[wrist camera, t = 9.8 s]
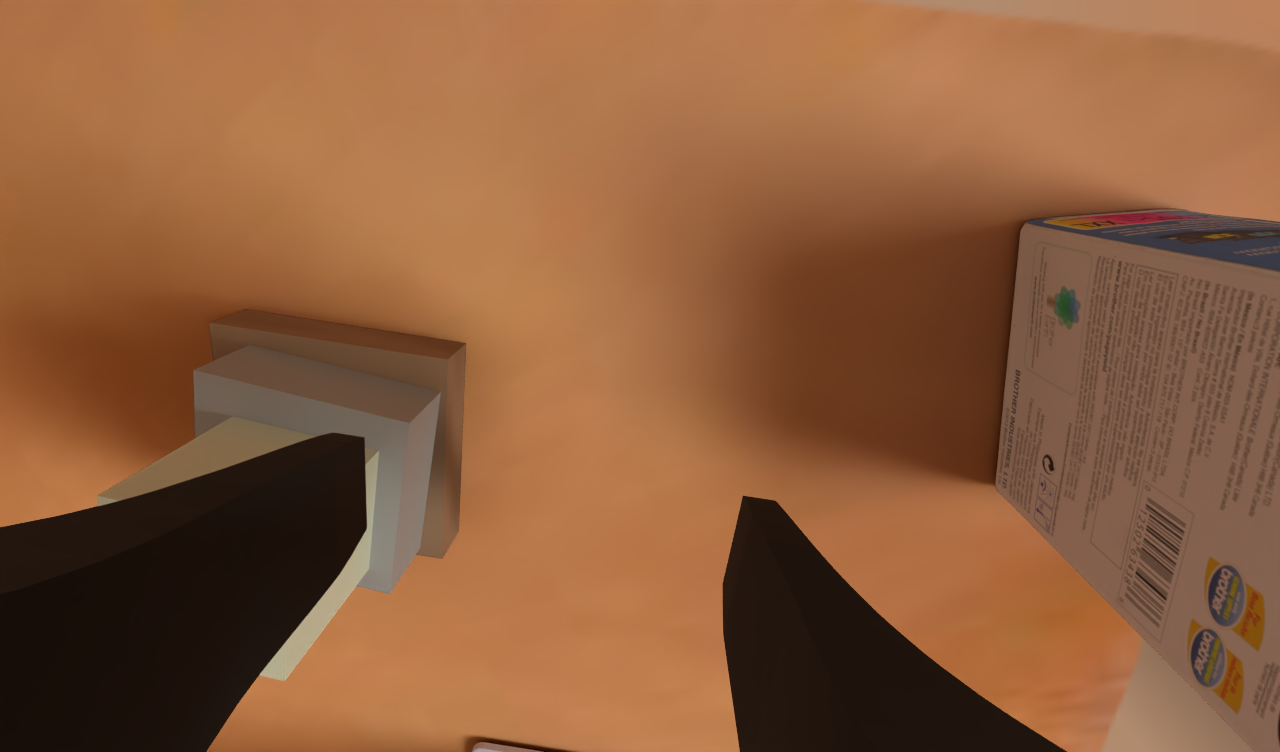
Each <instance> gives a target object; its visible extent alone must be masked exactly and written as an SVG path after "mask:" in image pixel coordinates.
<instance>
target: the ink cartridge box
mask: <svg viewBox="0 0 1280 752" xmlns="http://www.w3.org/2000/svg"><path fill="white" fill-rule="evenodd" d="M995 487H996V489H997V491H998V492H999V493H1000V494H1001V495H1002V496H1003V497H1004V498H1005V499H1006V500H1007V501H1008V502H1009V503H1010V504H1011V505H1012V506H1013V507H1014V508H1015V509H1016V510H1017V511H1018V512H1019V513H1020V514H1021V515H1022V516H1023V517H1024V518H1025V519H1026V520H1027V521H1028V522H1029V523H1030V524H1031V525H1032V526H1033V527H1034V528H1035V529H1036V530H1037V531H1038V532H1039V533H1040V534H1041V535H1042V536H1043V538H1044V539H1045V540H1046V541H1048V542H1049V543H1050V544H1051V545H1052V546H1053V547H1054V548H1055V549H1056V550H1057V551H1058V552H1059V553H1060V554H1061V555H1062V557H1063V558H1064V559H1065V560H1066V561H1067V562H1068V563H1069V564H1070V565H1071V566H1072V567H1073V568H1074V569H1075V570H1076V571H1077V572H1078V573H1079V574H1080V575H1081V576H1082V577H1083V578H1084V579H1085V580H1086V581H1087V582H1088V583H1089V584H1090V585H1091V586H1092V587H1093V588H1094V589H1095V590H1096V591H1097V592H1098V593H1099V594H1100V595H1101V596H1102V597H1103V598H1104V599H1105V600H1106V601H1107V602H1108V603H1109V604H1110V605H1111V606H1112V607H1113V608H1114V609H1115V610H1116V611H1117V612H1118V613H1119V614H1120V615H1121V616H1122V617H1123V618H1124V619H1125V620H1126V621H1127V622H1128V623H1129V624H1130V625H1131V626H1132V627H1133V628H1134V629H1135V631H1136V632H1137V633H1138V634H1139V635H1140V636H1141V637H1142V638H1143V639H1144V640H1145V641H1146V642H1147V643H1148V644H1149V645H1150V646H1151V647H1152V648H1153V649H1154V650H1155V651H1156V652H1157V653H1159V655H1160V656H1161V657H1162V658H1163V659H1164V660H1165V661H1166V662H1167V663H1168V664H1169V665H1170V666H1171V667H1172V668H1173V669H1174V670H1175V671H1176V672H1177V673H1178V674H1179V675H1180V676H1181V677H1182V678H1183V679H1184V680H1185V681H1186V682H1187V683H1188V684H1189V685H1190V686H1191V687H1192V688H1193V689H1194V690H1195V691H1196V692H1197V693H1198V694H1199V695H1200V696H1201V697H1202V698H1203V699H1204V700H1205V701H1206V702H1207V703H1208V704H1209V705H1210V706H1211V707H1212V708H1213V709H1214V710H1215V711H1216V713H1218V714H1219V716H1220V717H1221V718H1222V719H1223V720H1224V721H1225V722H1226V723H1227V724H1228V725H1229V726H1230V727H1231V728H1232V729H1233V730H1234V731H1235V732H1236V733H1237V734H1238V735H1239V736H1240V737H1241V738H1242V739H1243V740H1244V741H1245V742H1246V743H1247V744H1248V745H1249V746H1250V747H1251V748H1252V749H1253V750H1254V751H1255V752H1280V222H1275V221H1267V220H1259V219H1250V218H1240V217H1230V216H1221V215H1212V214H1205V213H1198V212H1192V211H1187V210H1181V209H1155V210H1143V211H1130V212H1116V213H1103V214H1090V215H1077V216H1065V217H1054V218H1044V219H1035V220H1030V221H1027V222H1026V223H1025V224H1024V226H1023V227H1022V229H1021V232H1020V240H1019V252H1018V261H1017V271H1016V281H1015V292H1014V302H1013V312H1012V321H1011V331H1010V341H1009V351H1008V361H1007V371H1006V381H1005V390H1004V401H1003V412H1002V421H1001V431H1000V442H999V453H998V463H997V472H996V481H995Z"/></svg>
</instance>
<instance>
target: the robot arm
mask: <svg viewBox="0 0 1280 752" xmlns="http://www.w3.org/2000/svg"><path fill="white" fill-rule="evenodd" d="M366 530H367V506H366V470H365V437H360V436H353V435H347V434H340V433H334V432H332V433H328V434H324V435H320V436H317V437H313V438H310V439H307V440H304V441H301V442H298V443H295V444H292V445H289V446H286V447H283V448H280V449H277V450H275V451H272V452H269V453H266V454H263V455H260V456H258V457H255V458H252V459H249V460H246V461H243V462H241V463H238V464H235V465H232V466H229V467H226V468H224V469H221V470H218V471H215V472H211V473H208V474H205V475H202V476H199V477H196V478H193V479H190V480H187V481H183V482H180V483H177V484H174V485H171V486H168V487H165V488H162V489H158V490H155V491H152V492H149V493H145V494H142V495H138V496H135V497H131V498H127V499H124V500H120V501H117V502H113V503H109V504H105V505H101V506H97V507H93V508H89V509H85V510H81V511H77V512H73V513H68V514H64V515H60V516H55V517H51V518H46V519H40V520H35V521H30V522H25V523H20V524H15V525H10V526H5V527H0V752H206V751H207V749H208V748H209V746H210V745H211V743H212V742H213V740H214V739H215V737H216V736H217V734H218V733H219V731H220V730H221V728H222V727H223V725H224V724H225V722H226V721H227V719H228V718H229V716H230V715H231V713H232V712H233V710H234V709H235V707H236V706H237V704H238V703H239V701H240V700H241V699H242V697H243V696H244V694H245V693H246V692H247V690H248V689H249V688H250V686H251V685H252V684H253V682H254V681H255V680H256V678H257V677H258V676H259V675H260V673H261V672H262V671H263V670H264V668H265V667H266V666H267V665H268V663H269V662H270V661H271V660H272V658H273V657H274V656H275V655H276V653H277V652H278V651H279V650H280V649H281V647H282V646H283V645H284V644H285V642H286V641H287V640H288V639H289V637H290V636H291V635H292V634H293V632H294V631H295V630H296V629H297V628H298V626H299V625H300V624H301V623H302V621H303V620H304V619H305V618H306V616H307V615H308V614H309V613H310V611H311V610H312V609H313V608H314V606H315V605H316V604H317V603H318V601H319V600H320V599H321V598H322V596H323V595H324V594H325V593H326V591H327V590H328V589H329V588H330V586H331V585H332V584H333V582H334V581H335V580H336V579H337V577H338V576H339V575H340V573H341V572H342V570H343V568H344V567H345V565H346V564H347V562H348V560H349V559H350V557H351V556H352V554H353V552H354V551H355V549H356V547H357V545H358V544H359V542H360V540H361V538H362V537H363V535H364V533H365V531H366ZM723 634H724V642H725V649H726V656H727V664H728V671H729V678H730V685H731V692H732V699H733V706H734V713H735V720H736V727H737V734H738V740H739V747H740V752H1067V751H1065V750H1063V749H1062V748H1060V747H1058V746H1057V745H1055V744H1054V743H1052V742H1050V741H1049V740H1047V739H1046V738H1044V737H1043V736H1041V735H1039V734H1038V733H1036V732H1035V731H1033V730H1031V729H1030V728H1028V727H1027V726H1025V725H1024V724H1022V723H1020V722H1019V721H1017V720H1016V719H1014V718H1013V717H1011V716H1010V715H1008V714H1007V713H1005V712H1004V711H1002V710H1001V709H999V708H998V707H996V706H995V705H993V704H992V703H990V702H989V701H987V700H986V699H985V698H983V697H982V696H980V695H979V694H978V693H976V692H975V691H973V690H972V689H971V688H969V687H968V686H967V685H965V684H964V683H963V682H961V681H960V680H959V679H957V678H956V677H954V676H953V675H952V674H950V673H949V672H948V671H946V670H945V669H944V668H942V667H941V666H940V665H938V664H937V663H936V662H935V661H933V660H932V659H931V658H930V657H928V656H927V655H926V654H924V653H923V652H922V651H921V650H920V649H918V648H917V647H916V646H915V645H914V644H913V643H911V642H910V641H909V640H908V639H907V638H906V637H904V636H903V635H902V634H901V633H900V632H899V631H897V630H896V629H895V628H894V627H893V626H892V625H890V624H889V623H888V622H887V621H886V620H885V619H884V618H883V617H882V616H880V615H879V614H878V613H877V612H876V611H875V610H874V609H873V608H872V607H871V606H870V605H869V604H868V603H867V602H866V601H865V600H864V599H863V598H862V597H861V596H860V595H859V594H858V593H857V592H856V591H855V590H854V589H853V588H852V587H851V586H850V585H849V584H848V583H847V582H846V581H845V580H844V579H843V578H842V577H841V576H840V575H839V573H838V572H837V571H836V570H835V569H834V568H833V567H832V566H831V565H830V564H829V563H828V561H827V560H826V559H825V558H824V557H823V556H822V555H821V553H820V552H819V551H818V550H817V549H816V548H815V547H814V545H813V544H812V543H811V542H810V541H809V540H808V538H807V537H806V536H805V535H804V534H803V532H802V531H801V530H800V529H799V528H798V526H797V525H796V524H795V523H794V522H793V520H792V519H791V518H790V517H789V516H788V514H787V513H786V512H785V511H784V510H783V509H782V507H781V506H780V505H779V504H778V503H777V502H776V501H774V500H767V499H761V498H754V497H748V496H743V498H742V503H741V507H740V511H739V516H738V520H737V524H736V529H735V533H734V537H733V542H732V546H731V551H730V555H729V559H728V564H727V568H726V572H725V577H724V581H723ZM472 752H542V751H536V750H530V749H524V748H518V747H511V746H505V745H499V744H493V743H486V742H479V743H476V744H475V745H474V747H473V750H472Z"/></svg>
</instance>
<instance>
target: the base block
mask: <svg viewBox="0 0 1280 752" xmlns="http://www.w3.org/2000/svg"><path fill="white" fill-rule="evenodd" d="M209 328H210V337H211V345H212V353H213V361H214V360H217V359H219V358H221V357H223V356H226V355H228V354H230V353H232V352H235V351H237V350H239V349H241V348H244V347H246V346H248V345H253V346H257V347H261V348H265V349H269V350H273V351H277V352H281V353H285V354H289V355H293V356H297V357H302V358H306V359H310V360H314V361H318V362H322V363H326V364H330V365H334V366H338V367H342V368H346V369H350V370H354V371H358V372H362V373H366V374H370V375H374V376H378V377H382V378H386V379H391V380H395V381H399V382H403V383H407V384H411V385H415V386H419V387H423V388H427V389H431V390H435V391H439V392H441V396H440V403H439V411H438V418H437V426H436V433H435V441H434V448H433V456H432V463H431V471H430V478H429V486H428V493H427V501H426V508H425V516H424V523H423V531H422V538H421V546H420V549H419V551H418V552H417V554H416V555H421V556H427V557H434V558H440V559H442V558H443V557H444V555H445V553H446V552H447V550H448V548H449V547H450V545H451V543H452V541H453V540H454V538H455V536H456V535H457V533H458V531H459V514H460V488H461V463H462V437H463V412H464V386H465V361H466V343H461V342H454V341H448V340H441V339H435V338H429V337H422V336H416V335H409V334H403V333H396V332H390V331H383V330H377V329H370V328H364V327H358V326H351V325H345V324H338V323H332V322H325V321H319V320H312V319H306V318H299V317H293V316H286V315H280V314H274V313H267V312H261V311H254V310H248V309H245V310H243V311H240V312H237V313H234V314H232V315H229V316H226V317H223V318H221V319H218V320H215V321H212V322H209Z"/></svg>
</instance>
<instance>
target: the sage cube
mask: <svg viewBox="0 0 1280 752" xmlns="http://www.w3.org/2000/svg"><path fill="white" fill-rule="evenodd" d="M313 437H317V436H314V435H310V434H306V433H301V432H297V431H293V430H289V429H284V428H280V427H276V426H272V425H267V424H263V423H259V422H255V421H250V420H246V419H242V418H238V417H234V416H232V417H231V418H229V419H227V420H226V421H224V422H222V423H220V424H219V425H217V426H215V427H214V428H212V429H210V430H209V431H207V432H205V433H203V434H202V435H200V436H198V437H197V438H195V439H193V440H191V441H190V442H188V443H186V444H185V445H183V446H181V447H179V448H178V449H176V450H174V451H173V452H171V453H169V454H168V455H166V456H164V457H162V458H161V459H159V460H157V461H156V462H154V463H152V464H150V465H149V466H147V467H145V468H144V469H142V470H140V471H138V472H137V473H135V474H133V475H132V476H130V477H128V478H126V479H125V480H123V481H121V482H120V483H118V484H116V485H115V486H113V487H111V488H109V489H108V490H106V491H104V492H103V493H101V494H99V495H97V499H98V506H101V505H105V504H109V503H113V502H117V501H120V500H124V499H127V498H131V497H135V496H138V495H142V494H145V493H149V492H152V491H155V490H158V489H162V488H165V487H168V486H171V485H174V484H177V483H180V482H183V481H187V480H190V479H193V478H196V477H199V476H202V475H205V474H208V473H211V472H215V471H218V470H221V469H224V468H226V467H229V466H232V465H235V464H238V463H241V462H243V461H246V460H249V459H252V458H255V457H258V456H260V455H263V454H266V453H269V452H272V451H275V450H277V449H280V448H283V447H286V446H289V445H292V444H295V443H298V442H301V441H304V440H307V439H310V438H313ZM378 458H379V451H378V450H373V449H369V448H365V470H366V506H367V530H366V531H365V533H364V535H363V537H362V538H361V540H360V542H359V544H358V545H357V547H356V549H355V551H354V552H353V554H352V556H351V557H350V559H349V560H348V562H347V564H346V565H345V567H344V568H343V570H342V572H341V573H340V575H339V576H338V577H337V579H336V580H335V581H334V582H333V584H332V585H331V586H330V588H329V589H328V590H327V591H326V593H325V594H324V595H323V596H322V598H321V599H320V600H319V601H318V603H317V604H316V605H315V606H314V608H313V609H312V610H311V611H310V613H309V614H308V615H307V616H306V618H305V619H304V620H303V621H302V623H301V624H300V625H299V626H298V628H297V629H296V630H295V631H294V632H293V634H292V635H291V636H290V637H289V639H288V640H287V641H286V642H285V644H284V645H283V646H282V647H281V649H280V650H279V651H278V652H277V653H276V655H275V656H274V657H273V658H272V660H271V661H270V662H269V663H268V665H267V666H266V667H265V668H264V670H263V671H262V672H261V673H260V676H264V677H269V678H273V679H277V680H282V681H285V680H286V679H287V677H288V676H289V675H290V673H291V672H292V671H293V669H294V668H295V667H296V665H297V664H298V663H299V662H300V660H301V659H302V658H303V656H304V655H305V654H306V652H307V651H308V650H309V648H310V647H311V646H312V644H313V643H314V642H315V640H316V639H317V638H318V636H319V635H320V634H321V632H322V631H323V630H324V628H325V627H326V626H327V624H328V623H329V622H330V620H331V619H332V618H333V616H334V615H335V614H336V612H337V611H338V610H339V608H340V607H341V606H342V604H343V603H344V602H345V600H346V599H347V598H348V596H349V595H350V594H351V592H352V591H353V590H354V588H355V587H356V586H357V584H358V583H359V582H360V580H361V579H362V578H363V576H364V575H365V574H366V572H367V571H368V570H369V563H370V551H371V540H372V528H373V516H374V505H375V493H376V481H377V470H378Z"/></svg>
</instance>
